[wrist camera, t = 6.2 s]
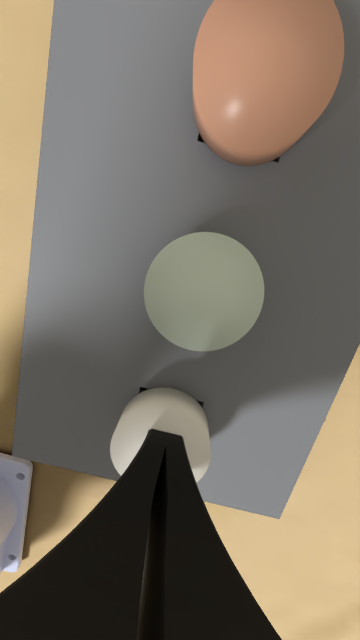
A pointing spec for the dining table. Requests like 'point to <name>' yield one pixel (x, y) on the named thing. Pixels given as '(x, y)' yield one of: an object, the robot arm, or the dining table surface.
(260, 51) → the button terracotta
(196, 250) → the button sage
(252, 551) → the dining table surface
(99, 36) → the panel
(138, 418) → the button cream
